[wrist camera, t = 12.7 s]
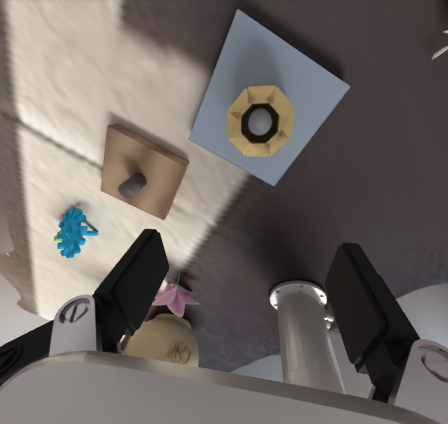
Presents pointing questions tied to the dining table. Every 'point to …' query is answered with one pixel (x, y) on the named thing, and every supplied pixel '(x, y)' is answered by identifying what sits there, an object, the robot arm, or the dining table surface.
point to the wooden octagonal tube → (277, 131)
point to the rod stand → (141, 172)
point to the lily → (174, 299)
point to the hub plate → (263, 112)
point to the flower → (441, 49)
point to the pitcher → (163, 341)
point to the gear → (72, 233)
